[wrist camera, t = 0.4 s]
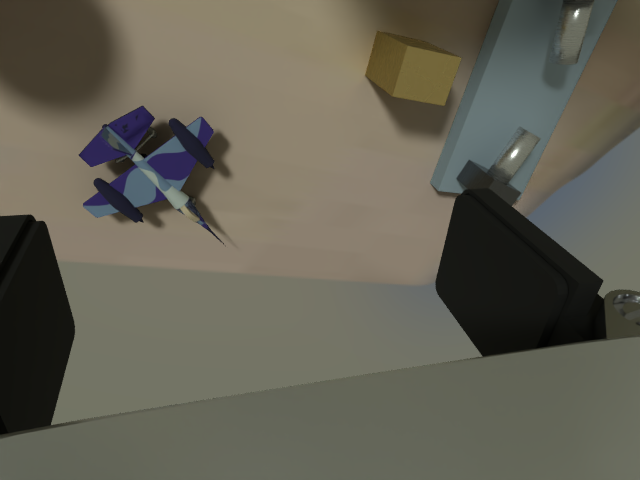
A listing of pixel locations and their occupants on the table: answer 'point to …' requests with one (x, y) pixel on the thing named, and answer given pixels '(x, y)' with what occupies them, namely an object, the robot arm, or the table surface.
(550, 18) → the board
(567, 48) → the shaft
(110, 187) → the toy airplane
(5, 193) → the table surface
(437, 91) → the olive yellow block
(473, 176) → the shaft
